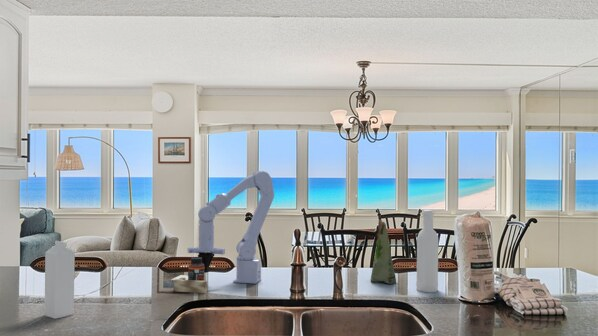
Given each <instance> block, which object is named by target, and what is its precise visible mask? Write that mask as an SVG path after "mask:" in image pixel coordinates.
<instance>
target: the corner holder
mask: <svg viewBox="0 0 598 336" xmlns="http://www.w3.org/2000/svg"><path fill="white" fill-rule="evenodd" d="M173 292H179V293H180V292H182V293H198V294H206V293H207V292H208V281H207V280H204V281H198V280H185V278H180V279H175V280H174V281H173Z"/></svg>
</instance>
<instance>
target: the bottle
mask: <svg viewBox="0 0 598 336" xmlns="http://www.w3.org/2000/svg"><path fill="white" fill-rule="evenodd" d="M422 212H423V213H422V218H423V220H422V229H421V230H420V231H419V232H418V235H417V238H416V239H417V241H416V243H417V244H416V283H415V285H416V290H417V291H419V292H421V293H437V292H438V291H439V290H438V288H439V276H438V275H439V236H438V234H437V231H436V230H435V229H434V210H431V209H424V210H423V211H422Z"/></svg>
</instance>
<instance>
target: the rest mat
mask: <svg viewBox="0 0 598 336" xmlns="http://www.w3.org/2000/svg"><path fill="white" fill-rule="evenodd" d="M180 278H185V280H188V274H187V275H186V274H185V275H184V274H180V275H178V276H176V277H173V278H172V279H170V281H173V282H174V280H175V279H180Z"/></svg>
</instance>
